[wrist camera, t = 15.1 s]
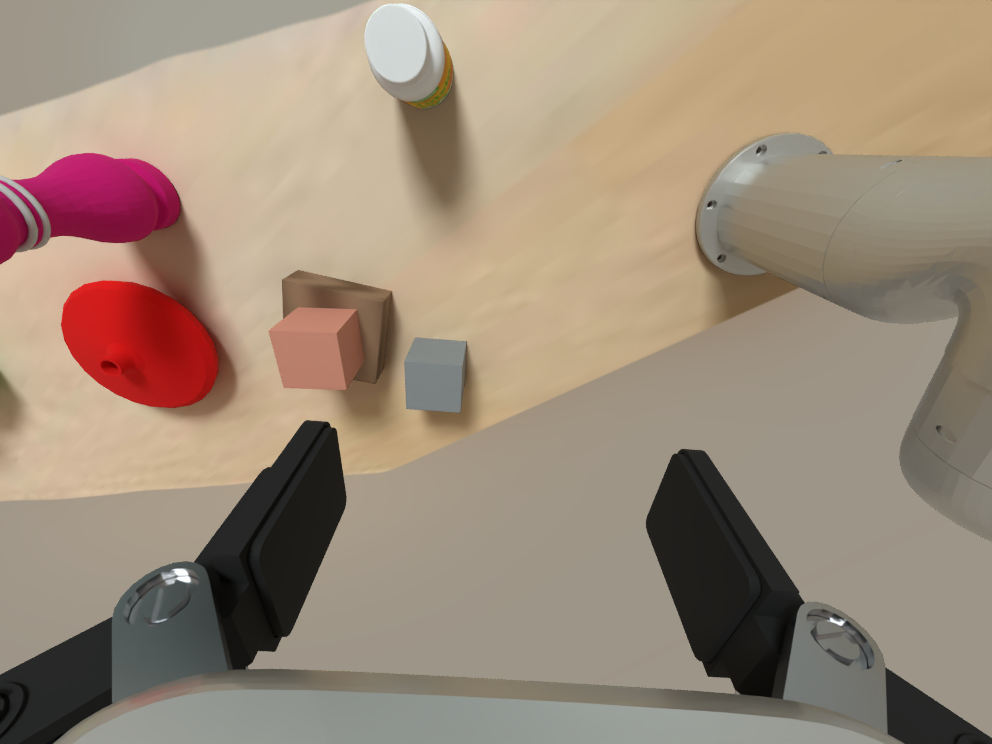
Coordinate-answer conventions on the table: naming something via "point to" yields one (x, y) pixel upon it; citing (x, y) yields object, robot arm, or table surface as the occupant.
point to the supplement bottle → (408, 55)
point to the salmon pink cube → (318, 348)
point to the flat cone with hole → (139, 343)
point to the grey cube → (435, 375)
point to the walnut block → (345, 295)
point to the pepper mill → (85, 203)
